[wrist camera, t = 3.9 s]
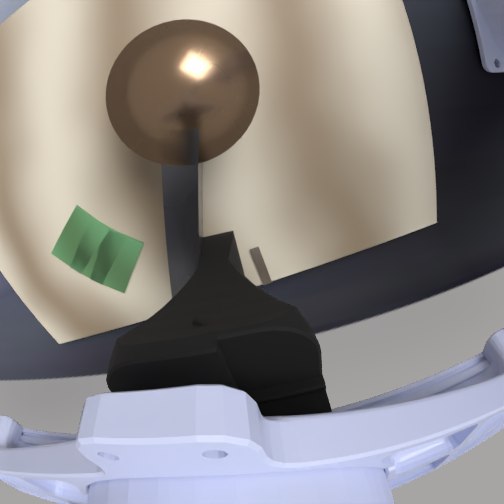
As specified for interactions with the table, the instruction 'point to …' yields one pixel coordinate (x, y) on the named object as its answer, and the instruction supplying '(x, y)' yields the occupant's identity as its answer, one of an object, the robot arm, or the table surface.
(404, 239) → the table surface
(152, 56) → the bronze ball with handle
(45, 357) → the table surface
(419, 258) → the table surface
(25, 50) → the board
